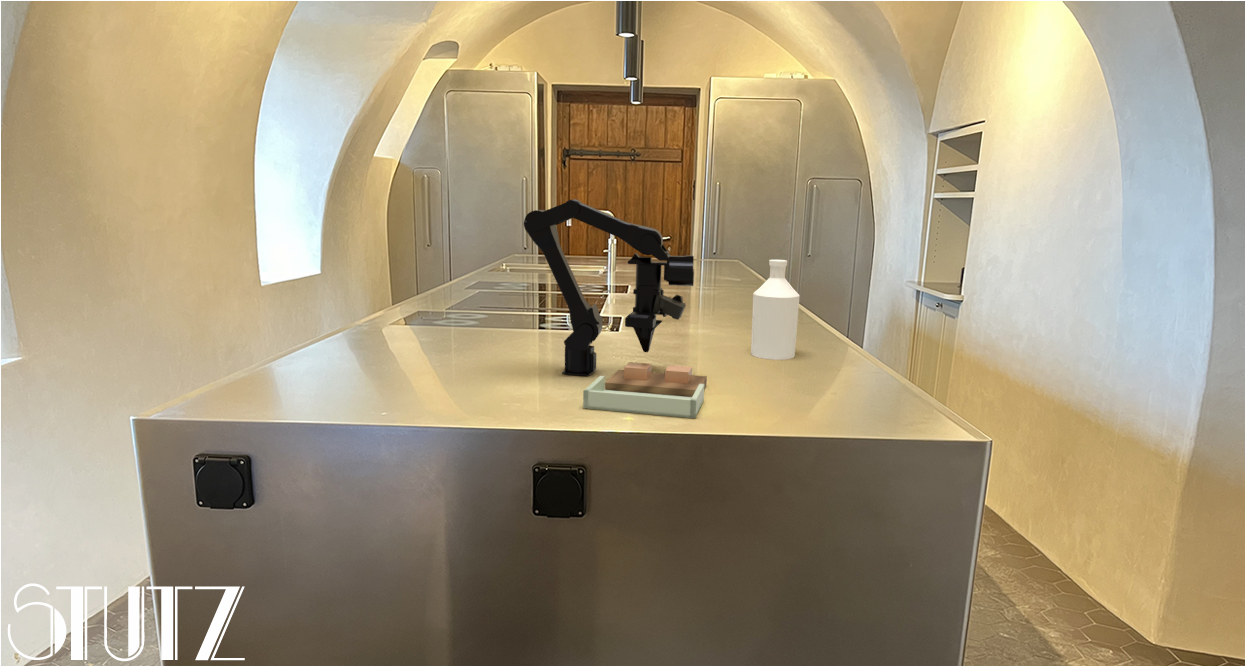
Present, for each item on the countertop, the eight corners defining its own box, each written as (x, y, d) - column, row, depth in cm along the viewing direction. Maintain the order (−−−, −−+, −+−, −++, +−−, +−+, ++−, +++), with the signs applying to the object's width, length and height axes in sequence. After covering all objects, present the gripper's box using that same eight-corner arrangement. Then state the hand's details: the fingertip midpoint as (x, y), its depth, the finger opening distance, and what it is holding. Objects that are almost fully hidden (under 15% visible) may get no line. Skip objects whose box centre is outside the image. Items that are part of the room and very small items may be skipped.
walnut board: (605, 391, 153) (605, 382, 153) (618, 378, 165) (619, 369, 164) (699, 399, 149) (699, 390, 148) (706, 385, 160) (706, 376, 160)
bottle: (800, 360, 186) (806, 263, 181) (753, 359, 186) (759, 262, 181) (790, 350, 197) (796, 258, 192) (746, 349, 197) (751, 257, 193)
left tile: (624, 378, 156) (624, 367, 156) (629, 373, 161) (629, 362, 161) (646, 380, 155) (646, 369, 155) (651, 374, 160) (651, 363, 160)
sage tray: (583, 408, 141) (583, 390, 141) (600, 391, 153) (600, 375, 152) (695, 418, 136) (695, 400, 136) (703, 400, 148) (704, 384, 147)
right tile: (664, 381, 154) (665, 370, 154) (669, 376, 159) (669, 365, 159) (688, 383, 153) (688, 372, 153) (691, 378, 158) (692, 366, 157)
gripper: (676, 291, 152) (673, 363, 155) (689, 281, 170) (687, 346, 173) (625, 288, 155) (623, 359, 158) (643, 279, 173) (641, 343, 176)
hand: (646, 351), depth 166 cm, fingers closed
